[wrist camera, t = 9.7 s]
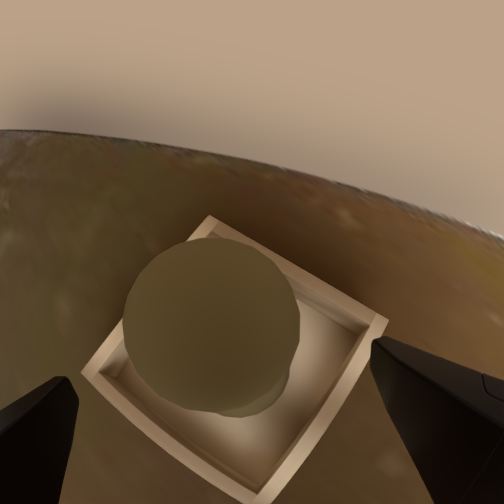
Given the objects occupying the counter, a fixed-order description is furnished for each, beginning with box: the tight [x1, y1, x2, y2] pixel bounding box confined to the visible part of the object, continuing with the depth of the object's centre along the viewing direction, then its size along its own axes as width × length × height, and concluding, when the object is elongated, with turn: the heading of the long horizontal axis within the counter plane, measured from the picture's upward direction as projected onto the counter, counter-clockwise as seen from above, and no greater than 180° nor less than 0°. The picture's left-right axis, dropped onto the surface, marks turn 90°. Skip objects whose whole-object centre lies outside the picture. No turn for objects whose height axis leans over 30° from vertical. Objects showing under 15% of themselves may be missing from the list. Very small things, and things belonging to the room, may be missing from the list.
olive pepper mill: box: [122, 238, 300, 418], centre depth 13 cm, size 6×6×11 cm
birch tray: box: [81, 215, 389, 504], centre depth 17 cm, size 12×12×3 cm
